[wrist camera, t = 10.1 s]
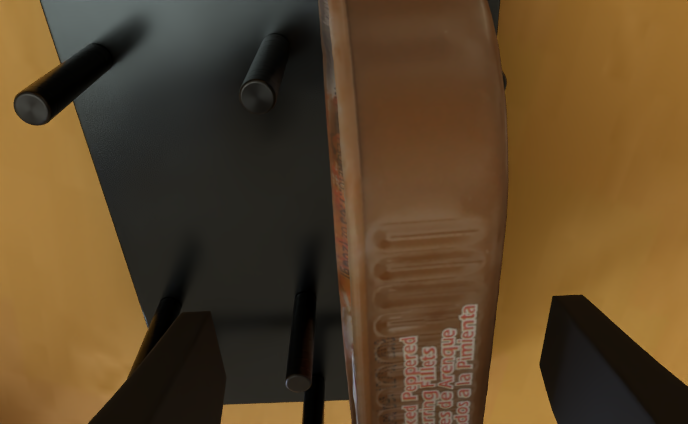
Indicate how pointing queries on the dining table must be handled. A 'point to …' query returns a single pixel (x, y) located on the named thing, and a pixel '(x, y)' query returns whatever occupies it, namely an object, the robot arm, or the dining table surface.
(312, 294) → the rack
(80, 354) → the dining table surface
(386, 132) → the tin
